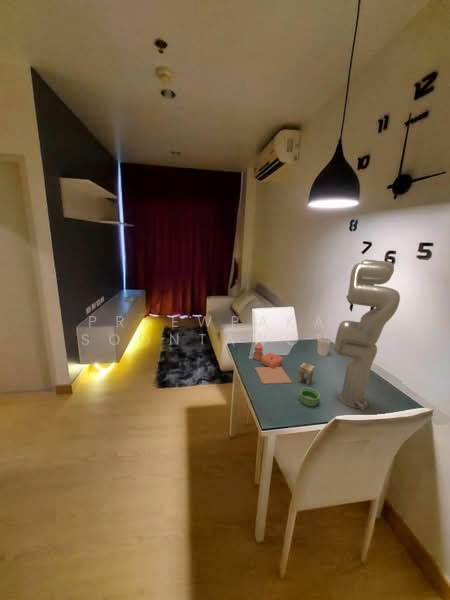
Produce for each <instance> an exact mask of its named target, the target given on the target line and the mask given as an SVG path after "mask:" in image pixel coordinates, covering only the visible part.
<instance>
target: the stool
mask: <svg viewBox="0 0 450 600" xmlns="http://www.w3.org/2000/svg"><path fill="white" fill-rule="evenodd" d="M298 371H299V373H298V380H297V383H301V382H302V380H304V378H305V373H306V374H307V376H306V377H307V378H306V382H305V383H306V384H305V385H306V386H308V387H309V386H310V383H311V382H312V381H313V376H314V371H315V366H314V365H312V364H310V363H305V362H303V363H302V364H301V365H300V366H299V370H298Z"/></svg>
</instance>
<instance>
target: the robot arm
mask: <svg viewBox="0 0 450 600" xmlns="http://www.w3.org/2000/svg"><path fill="white" fill-rule="evenodd" d="M394 272H395V266H394V263H392V262H391V261H385V260H375V259H364V260H362V261H361V262H358V263H356V264H354V266H353V267H352V270H351V272H350V276H349V277H350V278H349V285H348V286H349V287H348V292H347V295H346V300H347V302H348V303H349V310H350V312H352V313H353V308H354V305H356V306H357V305H359V306H366V307H370V308H369V310H368V311H367V312H365V313H364V314H362V316H361V317H360V321H353V320H343V321H341V322H340V324H339V326H338V329H337V331H336V337H335V340H334V344H333V350H334V353H335V354H336V355H338V356H342V357H346V358H350V359H351V360H350V361H349V362H348V364H347V366H346V370H345V375H344V381H343V384H342V385H343V386H342V390H340V391H338V393H337V398H338V400H339V401H340V402H341V403H343V404H344V405H346V406H348V407H351V408H353V409H361V410H365V409H366V408H367V407H368V406H369V404H368V403H367V402H368V401H367V400H366V397H365V394H366V391H367V390H366V389H367V385H368V381H369V377H370V372H371V368H372V365H373V362H374V360H375V358H376V355H377V354H378V347H377V345H376V344H377V342H378V341H379V339H380V336H381V334H382V332H383V330H384V327H385V325H386V324H387V323H388V322H389V321H390V320H391V318H392V317H393V316H394V315H395V313H396V312H397V310H398V307H399V305H400V302H401V295H400V293H399V291H398V290H396V289H394V288H392V287H387V286H381V285H383V284H386V283H388V282H389V281H390V280H391V278H392V276H393V274H394Z"/></svg>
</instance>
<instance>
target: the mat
mask: <svg viewBox="0 0 450 600" xmlns="http://www.w3.org/2000/svg"><path fill="white" fill-rule="evenodd" d="M254 369H255V371H256V374H257V375H258V378H259V380H260V382H261V384H262V385H277V384H278V385H279V384H280V385H282V384H292V383H293V381H292V380H291V379H290V377H289V376H288V375H287V373H286V372H285V370H284V368H283V367H282V366H277V367H275V368H274V369H273V368H271V367H268V366H264V367H263V366H261V367H260V366H259V367H257V366H256V367H254Z"/></svg>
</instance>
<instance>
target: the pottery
mask: <svg viewBox="0 0 450 600" xmlns="http://www.w3.org/2000/svg"><path fill="white" fill-rule="evenodd" d="M263 351H264V350H263V345H262V343H261V342H258V343H257V344H255V345H254V352H253V353H252V358H253V360H256V361H260V364H262V365H265V367H271V368H273V369H274V368H275V367H280V366H281V365H282V364H283V359H284V358H283V357H282V356H280V355H277V354H274V353H273V352H269V353H266V354H263Z"/></svg>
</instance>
